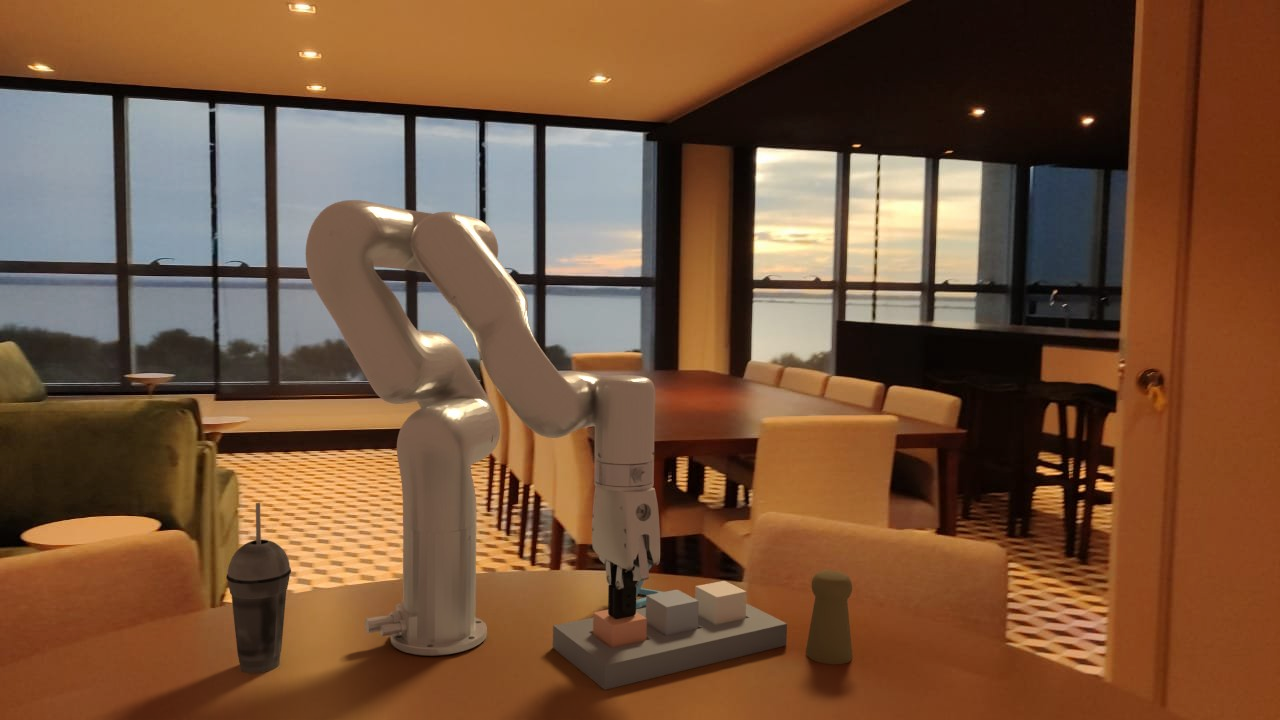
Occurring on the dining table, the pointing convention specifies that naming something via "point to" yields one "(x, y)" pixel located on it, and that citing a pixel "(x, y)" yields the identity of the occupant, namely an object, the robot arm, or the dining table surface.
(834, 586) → the cork
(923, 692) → the dining table surface
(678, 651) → the button panel
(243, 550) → the beverage cup
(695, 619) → the slate button
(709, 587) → the cream button
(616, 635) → the terracotta button
